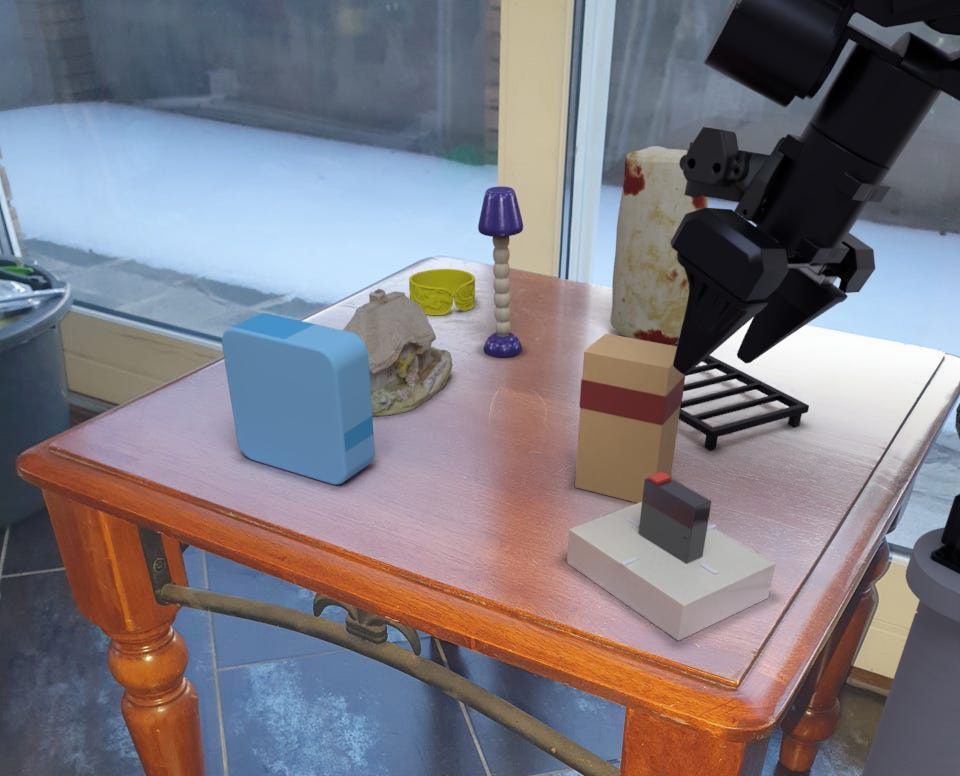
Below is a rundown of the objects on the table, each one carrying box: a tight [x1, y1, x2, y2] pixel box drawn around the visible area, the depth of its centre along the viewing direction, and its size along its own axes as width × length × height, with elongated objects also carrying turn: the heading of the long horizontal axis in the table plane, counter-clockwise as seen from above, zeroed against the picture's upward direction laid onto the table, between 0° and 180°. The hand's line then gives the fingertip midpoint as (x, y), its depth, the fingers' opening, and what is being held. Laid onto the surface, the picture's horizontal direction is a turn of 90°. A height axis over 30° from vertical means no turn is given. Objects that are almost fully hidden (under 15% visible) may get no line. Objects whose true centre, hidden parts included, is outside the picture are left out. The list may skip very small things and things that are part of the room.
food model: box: [610, 145, 709, 345], centre depth 107 cm, size 10×7×20 cm
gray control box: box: [639, 472, 713, 563], centre depth 70 cm, size 5×2×5 cm, turn 35°
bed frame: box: [671, 342, 810, 452], centre depth 98 cm, size 19×12×2 cm, turn 29°
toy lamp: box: [477, 186, 524, 358], centre depth 105 cm, size 5×5×17 cm
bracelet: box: [408, 268, 476, 316], centre depth 121 cm, size 7×8×3 cm
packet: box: [574, 333, 686, 504], centre depth 81 cm, size 5×7×12 cm, turn 62°
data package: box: [221, 312, 376, 486], centre depth 85 cm, size 12×4×12 cm, turn 60°
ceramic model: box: [342, 288, 454, 417], centre depth 98 cm, size 14×11×10 cm
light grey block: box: [566, 502, 776, 642], centre depth 73 cm, size 12×9×3 cm
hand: (712, 364), depth 70 cm, fingers open, 9 cm apart
